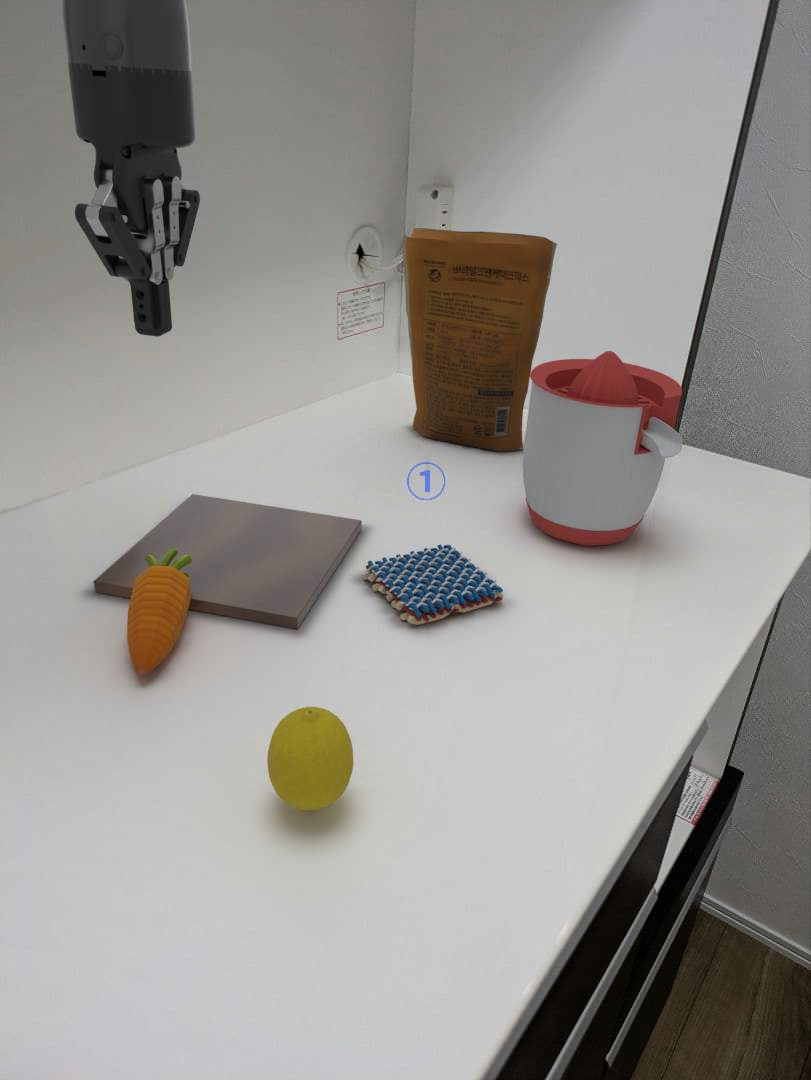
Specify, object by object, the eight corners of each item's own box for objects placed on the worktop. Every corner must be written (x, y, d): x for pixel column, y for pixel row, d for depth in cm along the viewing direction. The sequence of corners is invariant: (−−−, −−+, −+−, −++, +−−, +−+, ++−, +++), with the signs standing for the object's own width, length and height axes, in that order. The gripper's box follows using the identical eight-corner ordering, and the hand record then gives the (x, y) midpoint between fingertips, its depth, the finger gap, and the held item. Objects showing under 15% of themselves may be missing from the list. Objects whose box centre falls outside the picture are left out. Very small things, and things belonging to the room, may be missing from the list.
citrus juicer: (604, 580, 83) (640, 388, 74) (484, 515, 95) (502, 342, 86) (692, 538, 92) (735, 363, 83) (573, 483, 104) (598, 324, 95)
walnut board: (94, 592, 77) (93, 581, 77) (193, 503, 94) (192, 493, 94) (297, 629, 73) (297, 618, 73) (361, 529, 91) (361, 520, 90)
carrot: (96, 660, 63) (134, 541, 75) (128, 701, 66) (160, 580, 78) (155, 644, 63) (185, 526, 75) (184, 686, 66) (208, 566, 78)
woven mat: (448, 555, 86) (449, 538, 85) (507, 605, 78) (509, 587, 77) (358, 576, 82) (359, 559, 81) (411, 632, 74) (412, 613, 73)
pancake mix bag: (523, 463, 109) (550, 240, 96) (391, 436, 116) (400, 223, 102) (536, 446, 115) (564, 233, 101) (410, 421, 121) (421, 218, 108)
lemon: (252, 802, 55) (247, 709, 52) (317, 762, 59) (316, 672, 55) (304, 851, 52) (302, 755, 48) (369, 806, 56) (372, 714, 52)
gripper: (131, 62, 59) (152, 308, 67) (10, 52, 47) (54, 350, 56) (229, 68, 57) (238, 319, 66) (129, 60, 46) (155, 364, 54)
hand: (153, 333), depth 61 cm, fingers closed
